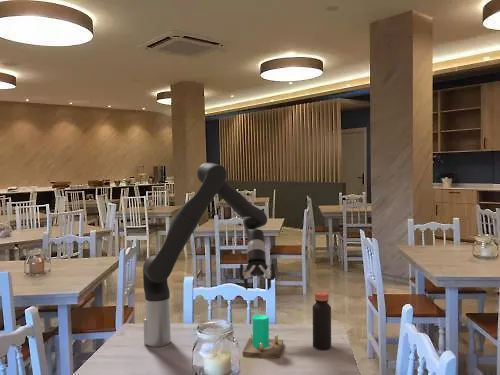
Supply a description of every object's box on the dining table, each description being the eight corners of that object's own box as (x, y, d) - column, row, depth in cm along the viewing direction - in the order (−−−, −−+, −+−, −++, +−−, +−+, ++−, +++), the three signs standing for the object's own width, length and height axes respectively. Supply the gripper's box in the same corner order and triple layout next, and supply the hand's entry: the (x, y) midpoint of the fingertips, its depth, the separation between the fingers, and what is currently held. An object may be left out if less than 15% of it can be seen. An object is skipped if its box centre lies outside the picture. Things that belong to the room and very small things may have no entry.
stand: (242, 356, 159) (242, 351, 159) (249, 342, 172) (249, 337, 172) (279, 358, 157) (279, 353, 157) (283, 343, 170) (283, 339, 170)
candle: (267, 348, 161) (267, 315, 161) (251, 347, 162) (250, 314, 162) (270, 342, 167) (269, 310, 167) (254, 341, 168) (253, 309, 168)
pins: (247, 351, 160) (247, 342, 160) (251, 341, 168) (251, 333, 168) (275, 352, 158) (275, 344, 158) (278, 343, 167) (278, 335, 167)
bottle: (335, 347, 166) (334, 293, 165) (322, 352, 162) (322, 297, 161) (321, 341, 171) (321, 289, 171) (308, 346, 167) (308, 293, 166)
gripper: (239, 248, 183) (239, 284, 173) (274, 248, 184) (276, 284, 174) (239, 257, 189) (239, 293, 179) (272, 257, 190) (275, 293, 180)
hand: (257, 288), depth 176 cm, fingers open, 8 cm apart
